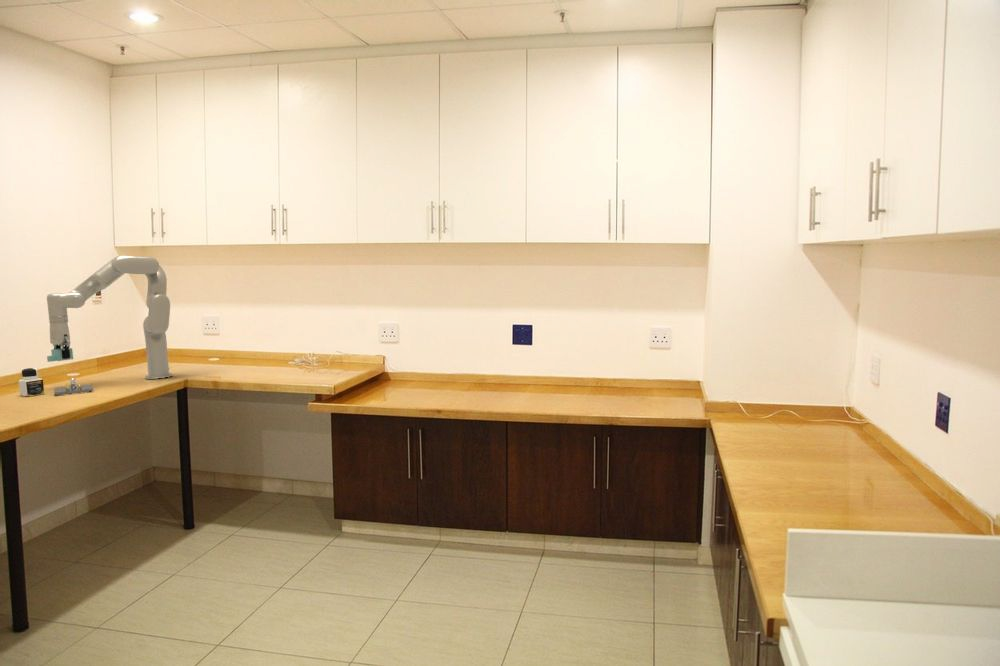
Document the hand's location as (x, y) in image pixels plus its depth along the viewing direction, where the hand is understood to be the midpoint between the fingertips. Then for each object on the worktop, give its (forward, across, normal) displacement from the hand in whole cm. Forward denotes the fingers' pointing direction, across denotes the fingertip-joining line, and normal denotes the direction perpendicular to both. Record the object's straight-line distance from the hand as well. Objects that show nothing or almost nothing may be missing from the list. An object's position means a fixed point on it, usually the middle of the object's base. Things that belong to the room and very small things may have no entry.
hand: (62, 357), depth 340 cm
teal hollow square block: (+1, 0, -1) cm, 2 cm away
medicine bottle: (+15, +4, -16) cm, 22 cm away
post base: (+14, +13, -2) cm, 20 cm away
